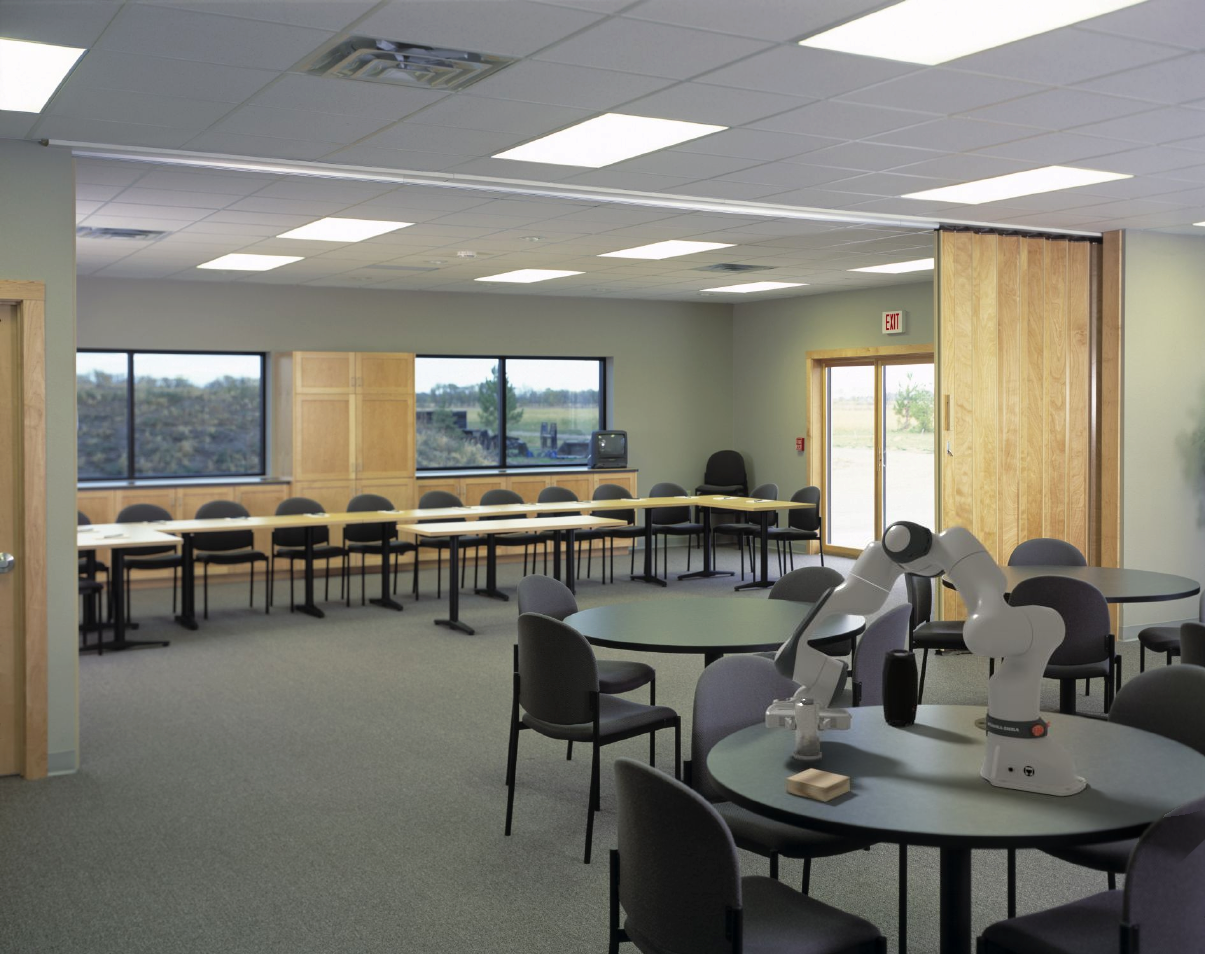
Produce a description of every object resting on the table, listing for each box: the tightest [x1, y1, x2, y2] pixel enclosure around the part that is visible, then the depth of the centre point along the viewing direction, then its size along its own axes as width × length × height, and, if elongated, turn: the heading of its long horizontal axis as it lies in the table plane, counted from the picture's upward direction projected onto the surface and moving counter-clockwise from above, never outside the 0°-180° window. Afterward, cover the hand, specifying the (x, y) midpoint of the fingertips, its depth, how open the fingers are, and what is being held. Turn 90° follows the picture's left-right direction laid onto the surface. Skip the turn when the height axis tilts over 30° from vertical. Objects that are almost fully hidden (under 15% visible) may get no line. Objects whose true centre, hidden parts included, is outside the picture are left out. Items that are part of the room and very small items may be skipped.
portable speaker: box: [881, 648, 919, 728], centre depth 309 cm, size 9×9×20 cm
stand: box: [785, 767, 851, 803], centre depth 253 cm, size 10×10×3 cm
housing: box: [793, 698, 823, 763], centre depth 271 cm, size 7×7×14 cm
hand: (807, 726), depth 270 cm, fingers closed on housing, 6 cm apart
